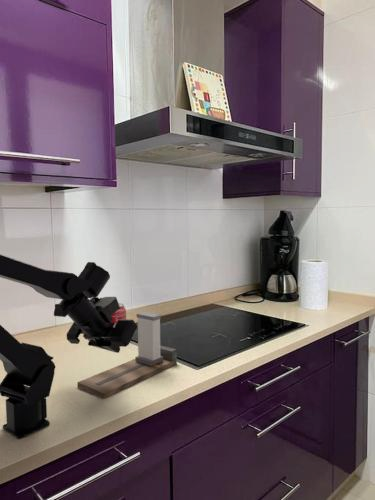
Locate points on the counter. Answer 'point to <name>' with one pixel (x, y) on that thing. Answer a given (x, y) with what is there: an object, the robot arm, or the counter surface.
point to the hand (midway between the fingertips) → (118, 351)
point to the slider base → (126, 374)
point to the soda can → (119, 314)
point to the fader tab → (148, 339)
